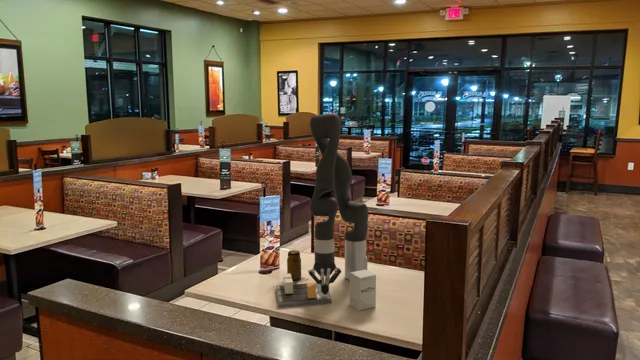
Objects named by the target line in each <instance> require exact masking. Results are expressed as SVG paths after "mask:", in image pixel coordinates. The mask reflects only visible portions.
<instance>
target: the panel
mask: <svg viewBox="0 0 640 360" xmlns="http://www.w3.org/2000/svg"><path fill="white" fill-rule="evenodd" d="M307 283H308V282H306V283H293V293H290V294H285V288H284V285H283V284H279V285H276V286H275V291H276V298H277V304H278V308H288V307H289V308H290V307H300V306H303V307H304V306H314V305H315V306H316V305H328V304H329V305H330V304H333V302H332V301H333V299H332V295H331V293H330V292H329V293H327V294H323V293H322V292H321V284H317V283H316V282H314V283H315V286H316V298H308V297H307Z"/></svg>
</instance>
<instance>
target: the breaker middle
mask: <svg viewBox="0 0 640 360" xmlns="http://www.w3.org/2000/svg"><path fill="white" fill-rule="evenodd" d="M293 284H294V283H293V281H292V279H284V286H285V294H290V293H293Z"/></svg>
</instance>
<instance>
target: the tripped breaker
mask: <svg viewBox="0 0 640 360" xmlns="http://www.w3.org/2000/svg"><path fill="white" fill-rule="evenodd" d="M306 283H307V297H308V298H316V286H315V283H316V282H306Z"/></svg>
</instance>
